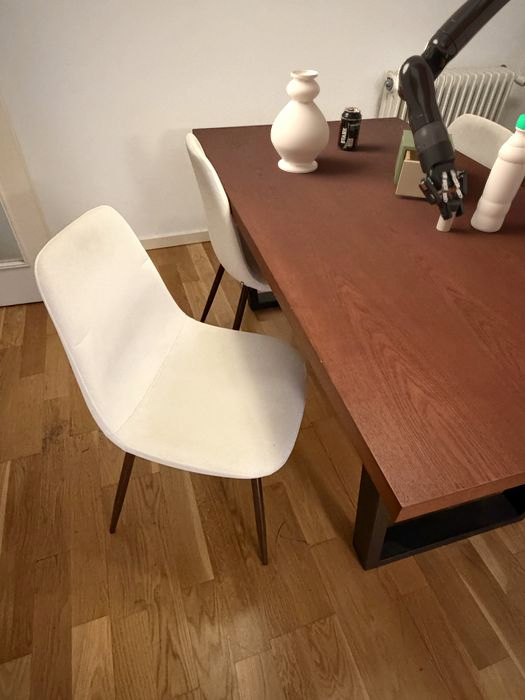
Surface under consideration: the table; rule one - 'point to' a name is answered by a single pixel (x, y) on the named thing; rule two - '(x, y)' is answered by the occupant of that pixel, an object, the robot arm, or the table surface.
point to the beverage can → (349, 128)
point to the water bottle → (502, 182)
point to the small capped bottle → (446, 224)
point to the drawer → (411, 176)
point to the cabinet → (405, 145)
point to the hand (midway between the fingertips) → (454, 217)
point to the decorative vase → (300, 125)
